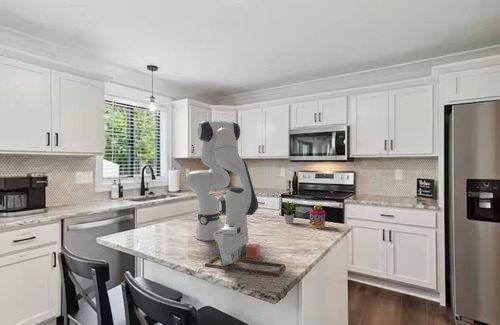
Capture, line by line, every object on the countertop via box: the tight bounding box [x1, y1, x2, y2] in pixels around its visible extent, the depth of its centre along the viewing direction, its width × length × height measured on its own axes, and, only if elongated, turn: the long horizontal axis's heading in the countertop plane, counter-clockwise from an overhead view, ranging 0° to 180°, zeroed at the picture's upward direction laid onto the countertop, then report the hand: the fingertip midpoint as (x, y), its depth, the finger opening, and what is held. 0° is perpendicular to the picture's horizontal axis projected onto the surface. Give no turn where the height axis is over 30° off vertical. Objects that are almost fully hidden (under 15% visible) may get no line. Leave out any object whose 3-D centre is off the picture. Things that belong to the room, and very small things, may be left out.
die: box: [245, 243, 261, 259], centre depth 132 cm, size 5×5×6 cm
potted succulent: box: [308, 205, 326, 229], centre depth 189 cm, size 10×11×15 cm
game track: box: [204, 254, 286, 278], centre depth 119 cm, size 15×32×1 cm, turn 70°
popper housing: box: [240, 244, 247, 257], centre depth 136 cm, size 9×9×4 cm
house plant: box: [280, 200, 300, 225], centre depth 200 cm, size 14×14×16 cm
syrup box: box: [213, 229, 238, 266], centre depth 121 cm, size 6×6×14 cm
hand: (237, 258), depth 120 cm, fingers closed, pressing on syrup box
